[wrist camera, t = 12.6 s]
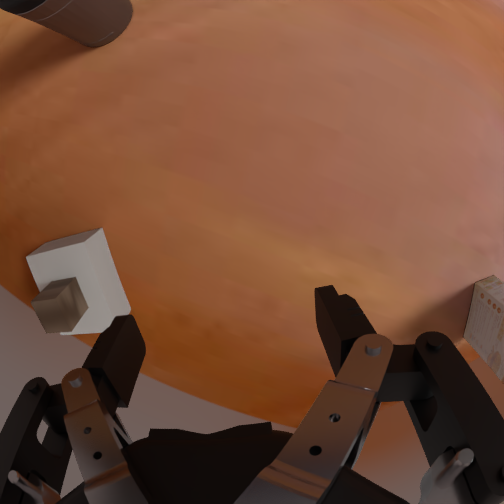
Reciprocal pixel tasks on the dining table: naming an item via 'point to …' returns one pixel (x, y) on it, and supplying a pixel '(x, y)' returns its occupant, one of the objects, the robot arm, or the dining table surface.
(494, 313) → the coffeecake box
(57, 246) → the block
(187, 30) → the dining table surface
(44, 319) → the walnut block
